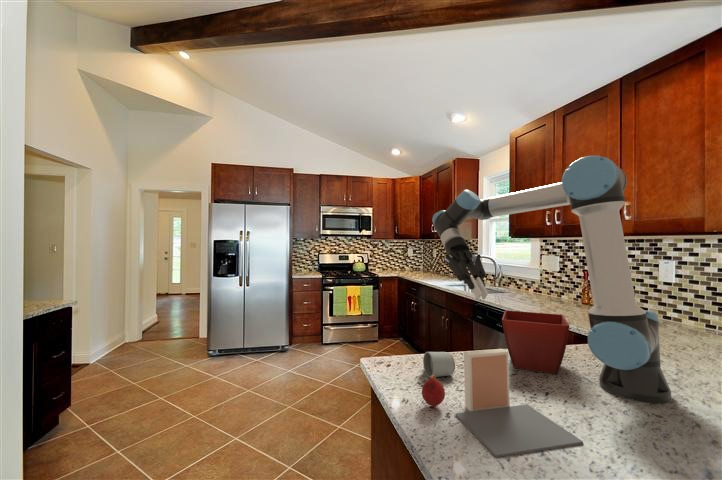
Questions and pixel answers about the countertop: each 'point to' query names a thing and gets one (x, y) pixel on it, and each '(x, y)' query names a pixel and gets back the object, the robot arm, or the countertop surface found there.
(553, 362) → the plant pot
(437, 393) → the onion
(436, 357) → the ceramic mug
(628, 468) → the countertop surface
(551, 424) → the mat
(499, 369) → the tile
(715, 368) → the countertop surface
